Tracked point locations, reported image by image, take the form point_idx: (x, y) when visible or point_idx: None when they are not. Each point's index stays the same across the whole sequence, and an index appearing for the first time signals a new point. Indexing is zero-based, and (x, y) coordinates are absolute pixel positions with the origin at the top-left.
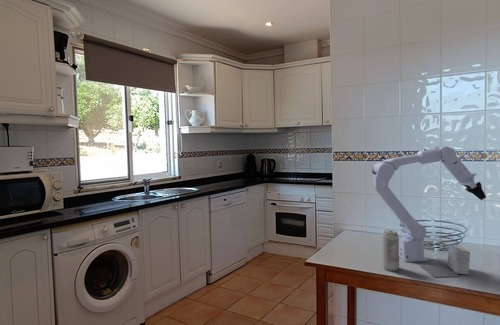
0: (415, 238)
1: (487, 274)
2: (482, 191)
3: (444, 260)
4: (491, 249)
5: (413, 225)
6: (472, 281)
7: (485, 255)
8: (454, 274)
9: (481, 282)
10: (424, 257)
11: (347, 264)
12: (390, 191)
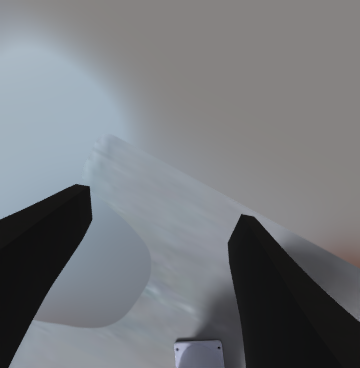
0: None
1: (292, 247)
2: (305, 279)
3: (211, 297)
4: (137, 156)
5: None
6: (337, 301)
7: (176, 189)
8: None
9: (340, 284)
10: (202, 343)
11: None
12: None
